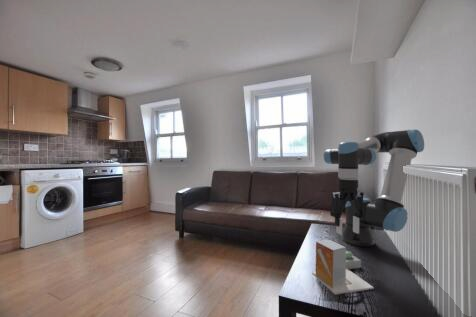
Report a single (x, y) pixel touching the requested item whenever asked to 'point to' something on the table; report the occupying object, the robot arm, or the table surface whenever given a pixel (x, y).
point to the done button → (348, 255)
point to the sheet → (349, 284)
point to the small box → (331, 263)
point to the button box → (353, 263)
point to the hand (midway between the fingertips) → (347, 233)
